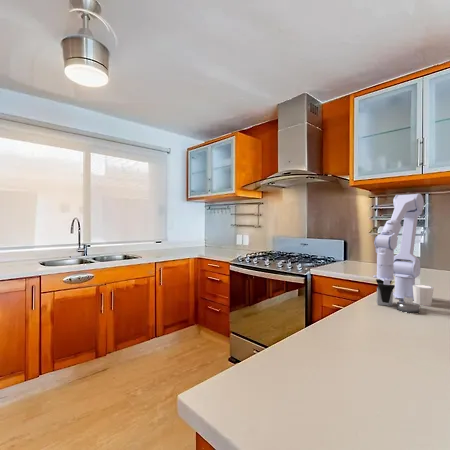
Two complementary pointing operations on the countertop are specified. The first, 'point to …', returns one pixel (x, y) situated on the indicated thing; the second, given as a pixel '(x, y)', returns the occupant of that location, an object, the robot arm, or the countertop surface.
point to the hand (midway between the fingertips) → (384, 299)
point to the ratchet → (408, 305)
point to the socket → (379, 299)
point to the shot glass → (423, 294)
